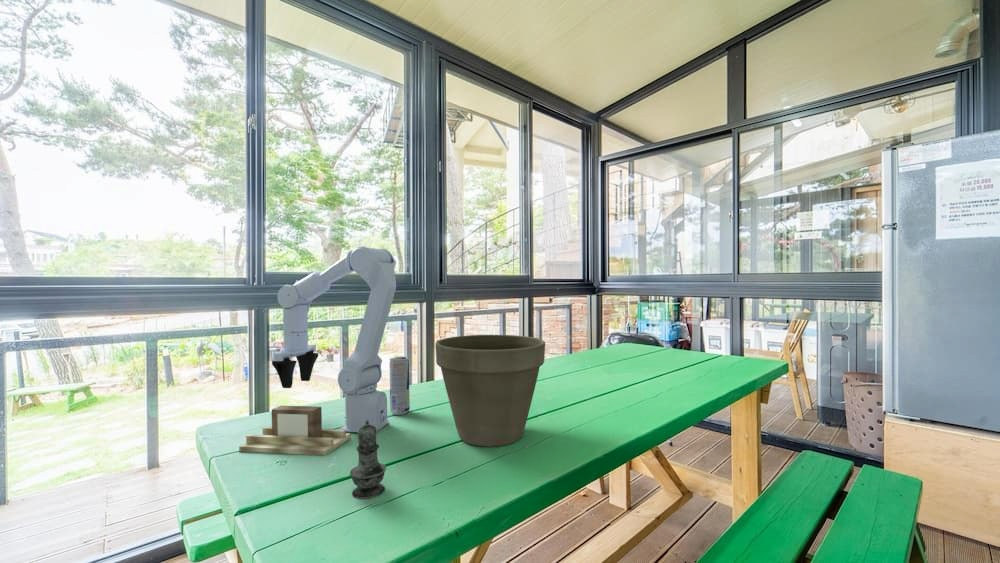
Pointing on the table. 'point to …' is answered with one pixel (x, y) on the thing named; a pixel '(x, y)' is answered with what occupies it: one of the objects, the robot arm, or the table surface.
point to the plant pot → (490, 384)
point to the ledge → (295, 443)
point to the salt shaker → (367, 465)
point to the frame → (297, 421)
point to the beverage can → (399, 385)
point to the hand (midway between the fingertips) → (296, 384)
